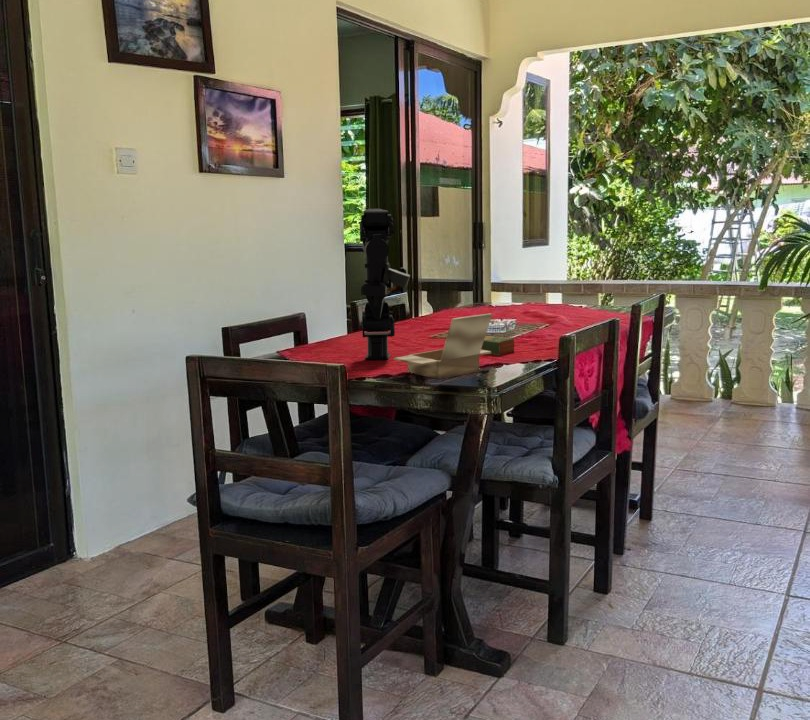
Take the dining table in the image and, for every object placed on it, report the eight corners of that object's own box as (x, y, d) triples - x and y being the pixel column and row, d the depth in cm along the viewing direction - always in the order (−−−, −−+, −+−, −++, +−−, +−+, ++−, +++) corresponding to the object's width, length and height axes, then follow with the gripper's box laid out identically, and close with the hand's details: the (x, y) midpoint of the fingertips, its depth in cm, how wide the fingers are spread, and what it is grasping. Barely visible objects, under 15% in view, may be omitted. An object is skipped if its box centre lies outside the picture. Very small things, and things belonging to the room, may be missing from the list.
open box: (392, 374, 214) (392, 357, 213) (460, 362, 229) (460, 346, 228) (423, 382, 205) (423, 364, 204) (492, 368, 220) (492, 351, 219)
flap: (452, 318, 202) (453, 319, 201) (490, 313, 210) (492, 314, 210) (440, 359, 207) (441, 360, 207) (478, 353, 215) (479, 354, 215)
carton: (469, 347, 255) (469, 333, 254) (514, 352, 245) (515, 337, 244) (453, 350, 248) (453, 336, 248) (499, 356, 238) (499, 341, 238)
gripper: (404, 261, 208) (405, 324, 211) (410, 256, 226) (411, 314, 229) (359, 262, 209) (361, 324, 212) (369, 257, 227) (370, 314, 230)
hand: (378, 319), depth 221 cm, fingers closed
